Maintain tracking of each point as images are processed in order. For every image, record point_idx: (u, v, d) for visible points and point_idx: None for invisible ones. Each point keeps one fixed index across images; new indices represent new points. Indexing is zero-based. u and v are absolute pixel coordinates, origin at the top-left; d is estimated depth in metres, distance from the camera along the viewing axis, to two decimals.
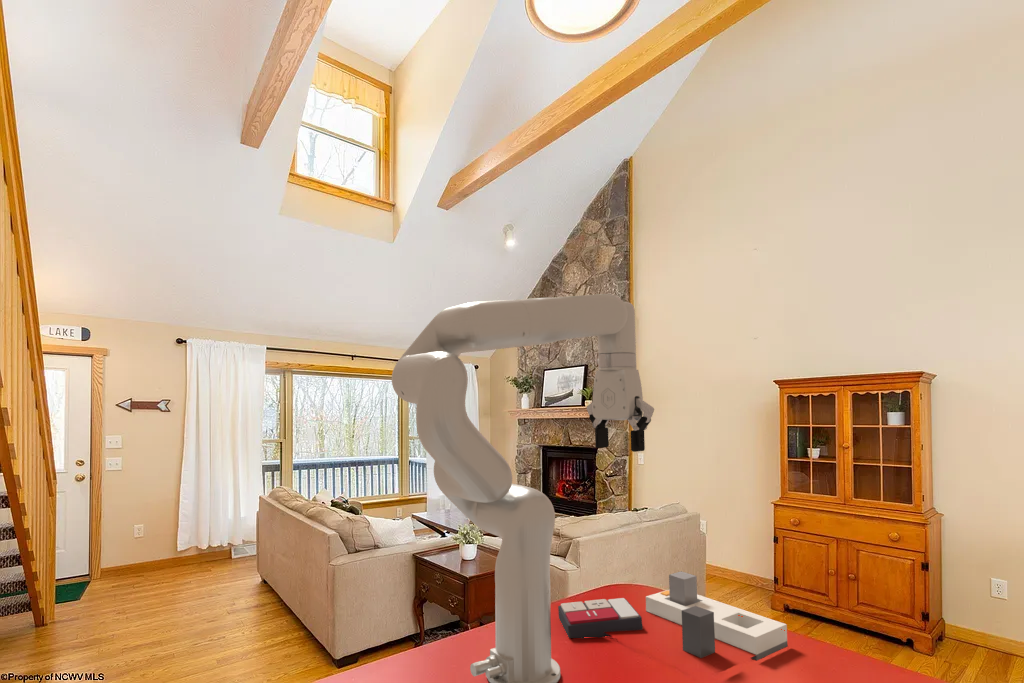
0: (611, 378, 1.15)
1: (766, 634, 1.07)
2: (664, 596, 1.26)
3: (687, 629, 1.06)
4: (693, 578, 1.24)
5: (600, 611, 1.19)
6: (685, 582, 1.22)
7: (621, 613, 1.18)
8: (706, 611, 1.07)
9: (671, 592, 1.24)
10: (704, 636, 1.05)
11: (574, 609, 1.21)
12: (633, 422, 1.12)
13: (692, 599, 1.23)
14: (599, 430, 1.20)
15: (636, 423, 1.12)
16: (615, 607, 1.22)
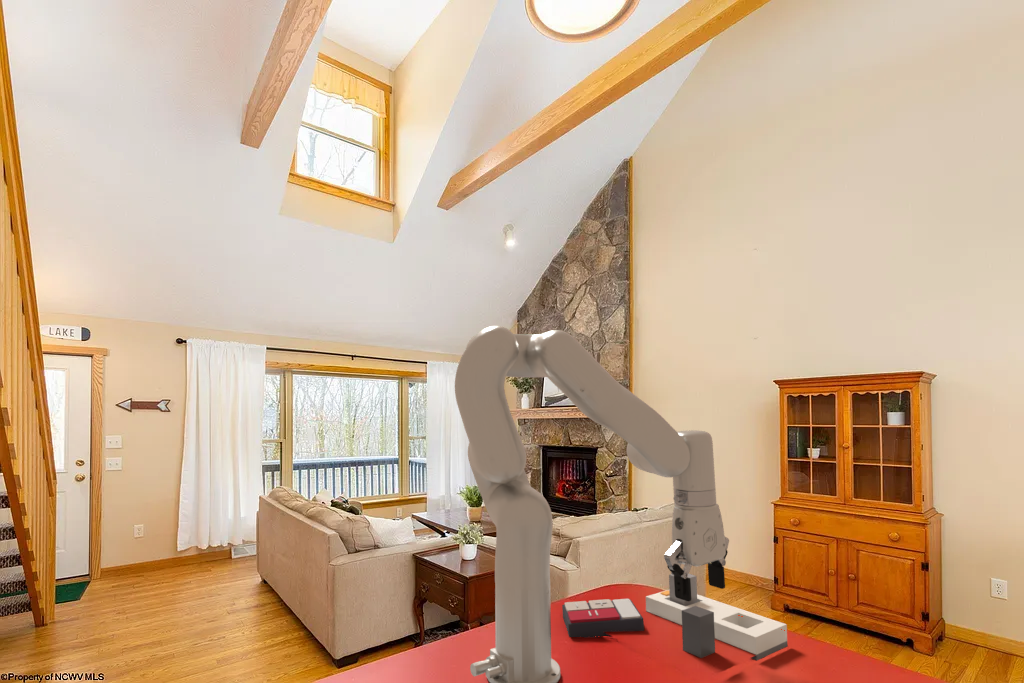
0: (711, 516, 1.07)
1: (766, 634, 1.07)
2: (664, 596, 1.26)
3: (687, 629, 1.06)
4: (693, 578, 1.24)
5: (603, 611, 1.20)
6: None
7: (623, 613, 1.18)
8: (706, 611, 1.07)
9: (671, 592, 1.24)
10: (704, 636, 1.05)
11: (577, 608, 1.22)
12: (722, 558, 1.10)
13: (692, 599, 1.23)
14: None
15: None
16: (618, 607, 1.21)
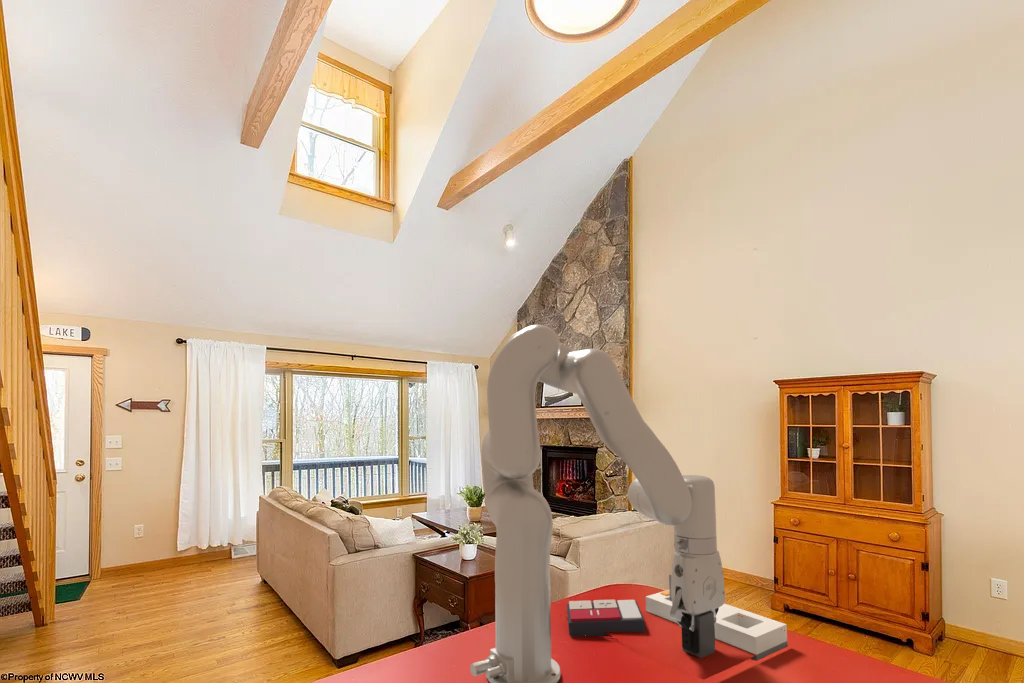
0: (711, 564, 1.06)
1: (766, 634, 1.07)
2: (664, 596, 1.26)
3: None
4: None
5: (605, 610, 1.20)
6: None
7: (624, 614, 1.18)
8: None
9: None
10: (704, 636, 1.05)
11: (580, 607, 1.22)
12: (714, 614, 1.08)
13: None
14: None
15: None
16: (621, 608, 1.21)
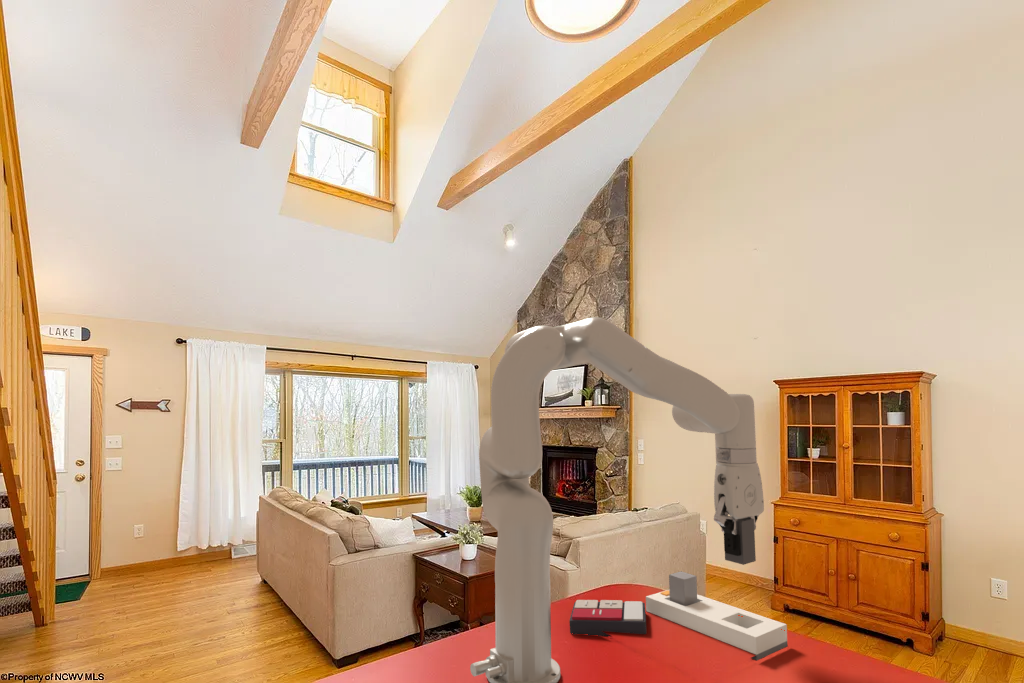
0: (752, 473, 1.13)
1: (766, 634, 1.07)
2: (664, 596, 1.26)
3: None
4: (693, 578, 1.24)
5: (608, 611, 1.20)
6: (685, 582, 1.22)
7: (627, 615, 1.17)
8: (746, 518, 1.14)
9: (671, 592, 1.24)
10: (746, 540, 1.12)
11: (584, 606, 1.23)
12: (754, 521, 1.15)
13: (692, 599, 1.23)
14: None
15: None
16: (626, 609, 1.20)
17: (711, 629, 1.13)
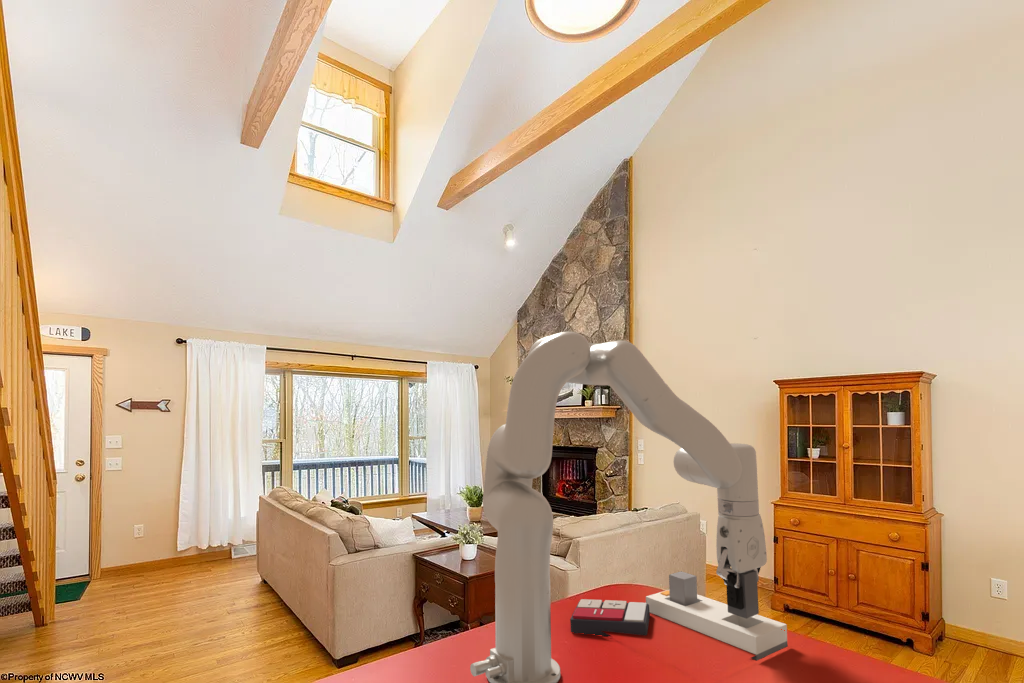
0: (754, 525, 1.13)
1: (766, 634, 1.07)
2: (664, 596, 1.26)
3: None
4: (693, 578, 1.24)
5: (610, 611, 1.19)
6: (685, 582, 1.22)
7: (628, 616, 1.17)
8: None
9: (671, 592, 1.24)
10: (749, 593, 1.11)
11: (587, 606, 1.23)
12: (757, 573, 1.14)
13: (692, 599, 1.23)
14: None
15: None
16: (628, 610, 1.20)
17: (711, 629, 1.13)
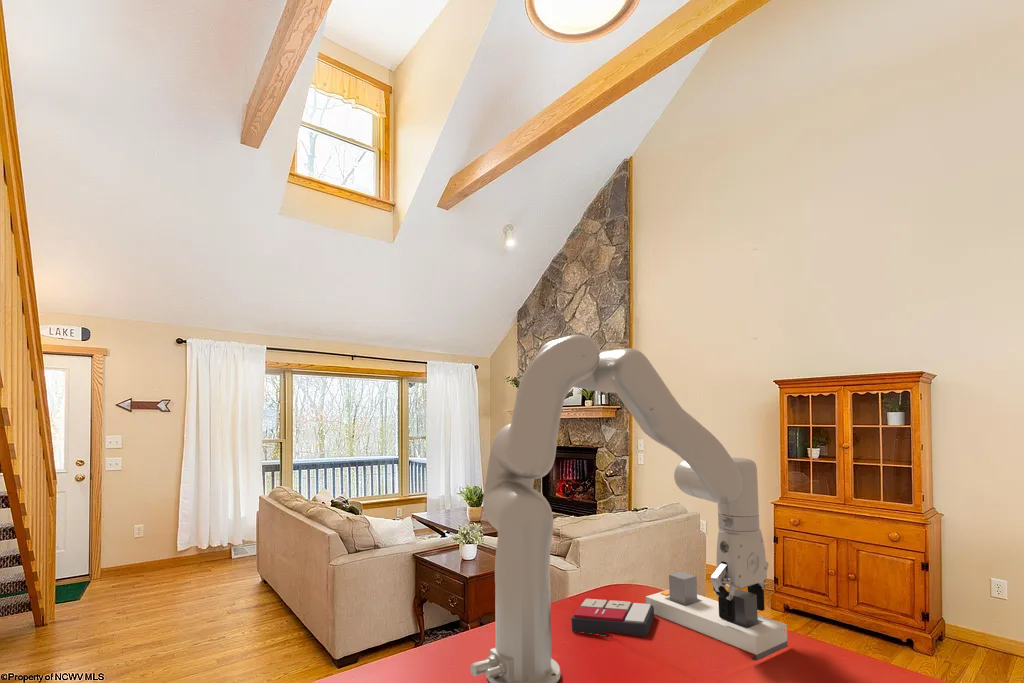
0: (755, 540, 1.12)
1: (766, 634, 1.07)
2: (664, 596, 1.26)
3: None
4: (693, 578, 1.24)
5: (612, 611, 1.19)
6: (685, 582, 1.22)
7: (629, 616, 1.16)
8: (749, 593, 1.13)
9: (671, 592, 1.24)
10: (748, 617, 1.11)
11: (591, 605, 1.23)
12: (762, 581, 1.15)
13: (692, 599, 1.23)
14: None
15: None
16: (631, 610, 1.20)
17: (711, 629, 1.13)
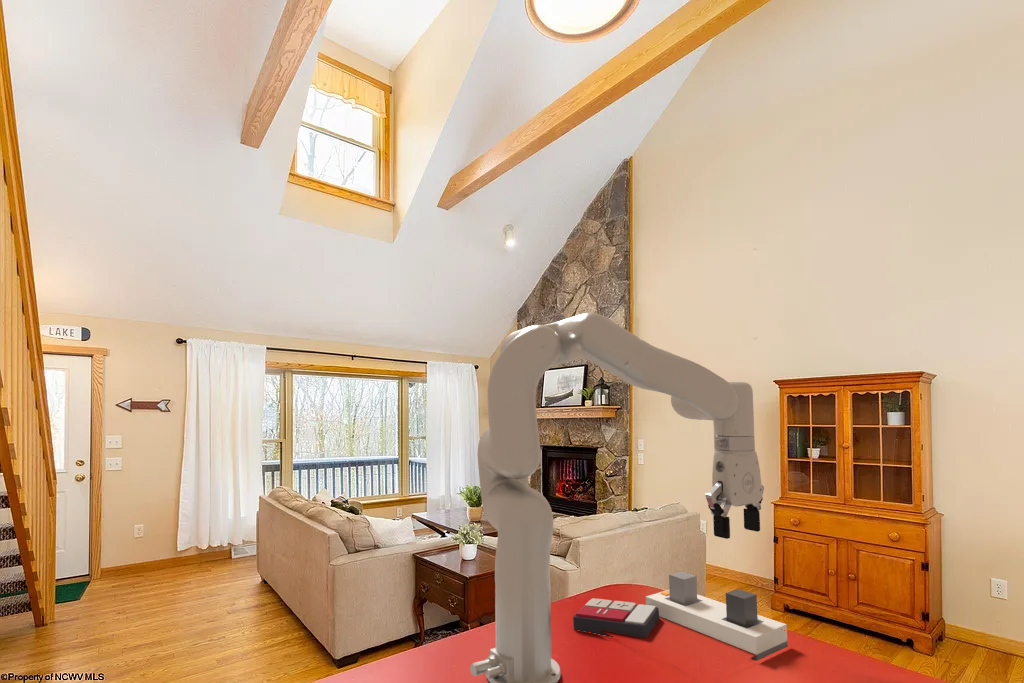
0: (750, 461, 1.14)
1: (766, 634, 1.07)
2: (664, 596, 1.26)
3: (731, 610, 1.12)
4: (693, 578, 1.24)
5: (614, 611, 1.19)
6: (685, 582, 1.22)
7: (630, 617, 1.16)
8: (749, 593, 1.13)
9: (671, 592, 1.24)
10: (748, 617, 1.11)
11: (595, 605, 1.24)
12: (757, 502, 1.16)
13: (692, 599, 1.23)
14: None
15: None
16: (633, 611, 1.19)
17: (711, 629, 1.13)
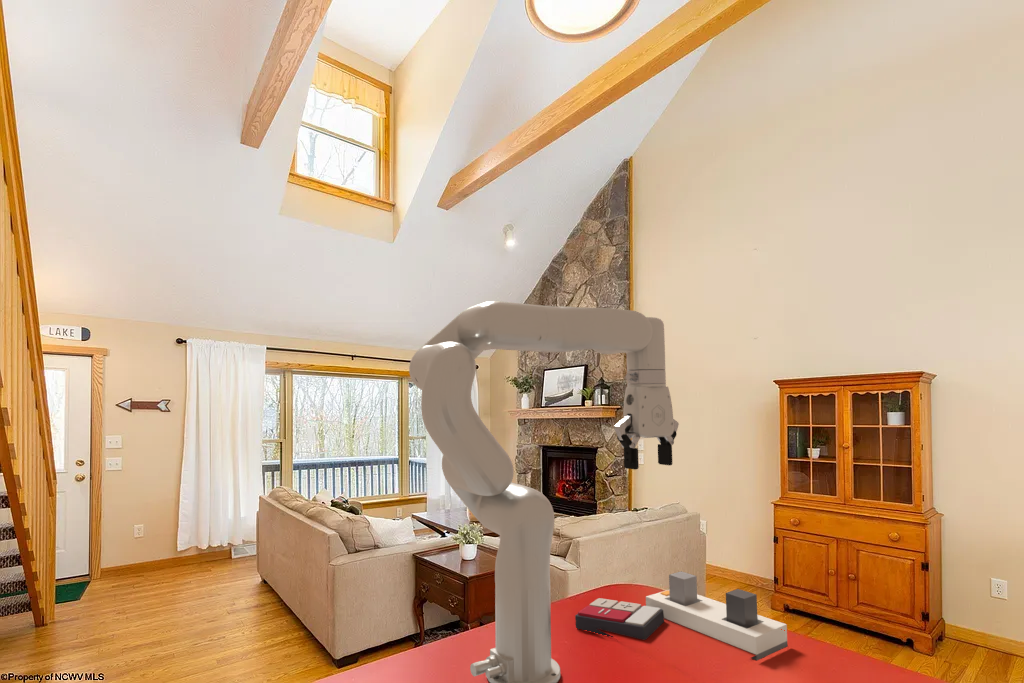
0: (660, 395, 1.15)
1: (766, 634, 1.07)
2: (664, 596, 1.26)
3: (731, 610, 1.12)
4: (693, 578, 1.24)
5: (616, 612, 1.19)
6: (685, 582, 1.22)
7: (630, 618, 1.15)
8: (749, 593, 1.13)
9: (671, 592, 1.24)
10: (748, 617, 1.11)
11: (599, 605, 1.24)
12: (670, 437, 1.18)
13: (692, 599, 1.23)
14: None
15: None
16: (636, 613, 1.18)
17: (711, 629, 1.13)
